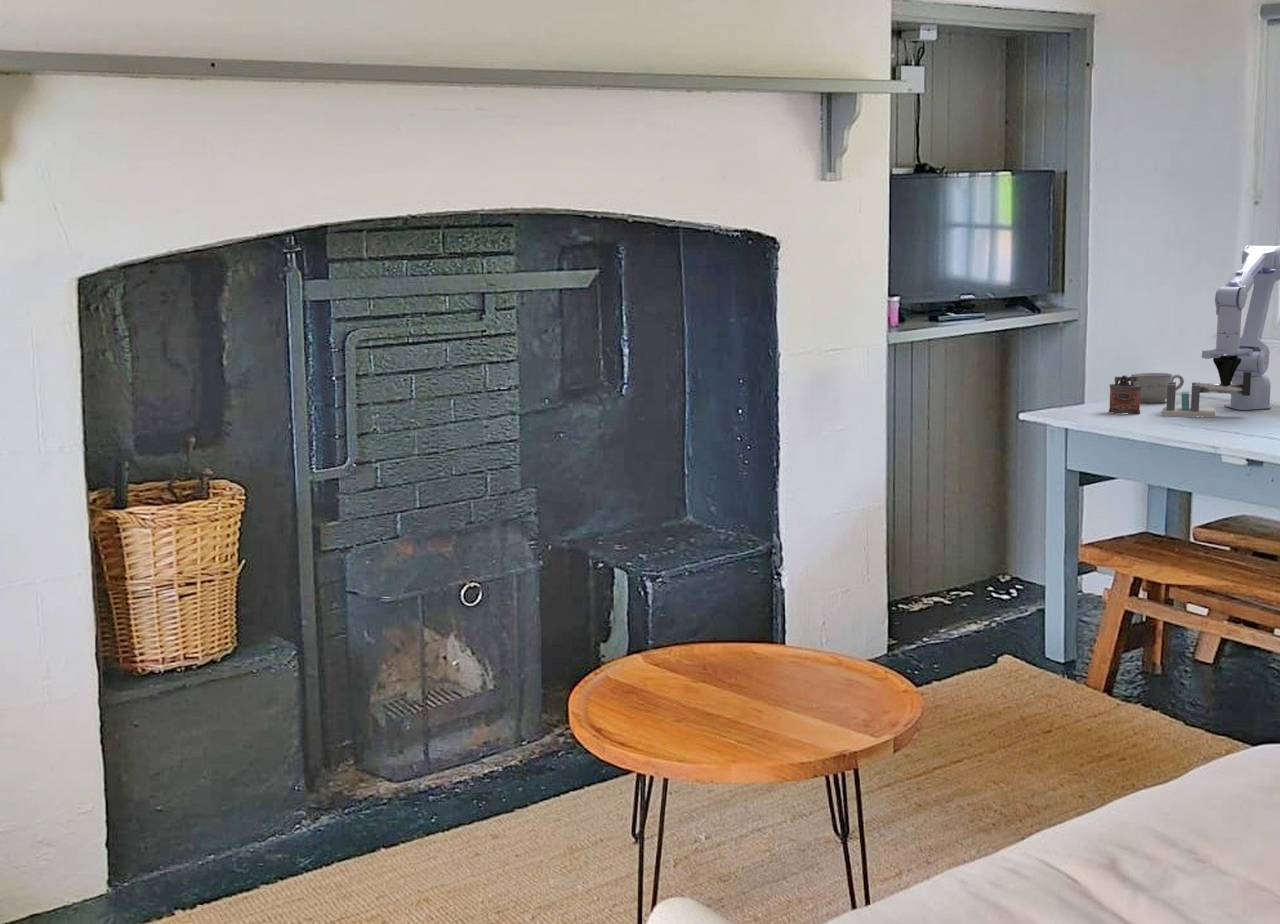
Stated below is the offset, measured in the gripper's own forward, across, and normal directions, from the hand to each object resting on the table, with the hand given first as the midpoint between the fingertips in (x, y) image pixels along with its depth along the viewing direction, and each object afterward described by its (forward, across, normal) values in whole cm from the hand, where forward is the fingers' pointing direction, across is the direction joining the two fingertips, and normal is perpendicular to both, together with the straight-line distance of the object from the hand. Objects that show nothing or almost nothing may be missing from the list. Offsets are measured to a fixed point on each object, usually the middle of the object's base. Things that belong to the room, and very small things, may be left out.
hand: (1225, 385), depth 406 cm
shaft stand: (+8, +7, -6) cm, 12 cm away
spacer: (+7, +7, -6) cm, 12 cm away
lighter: (+8, +20, -15) cm, 26 cm away
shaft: (+2, 0, -1) cm, 3 cm away
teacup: (+8, 0, -27) cm, 28 cm away
